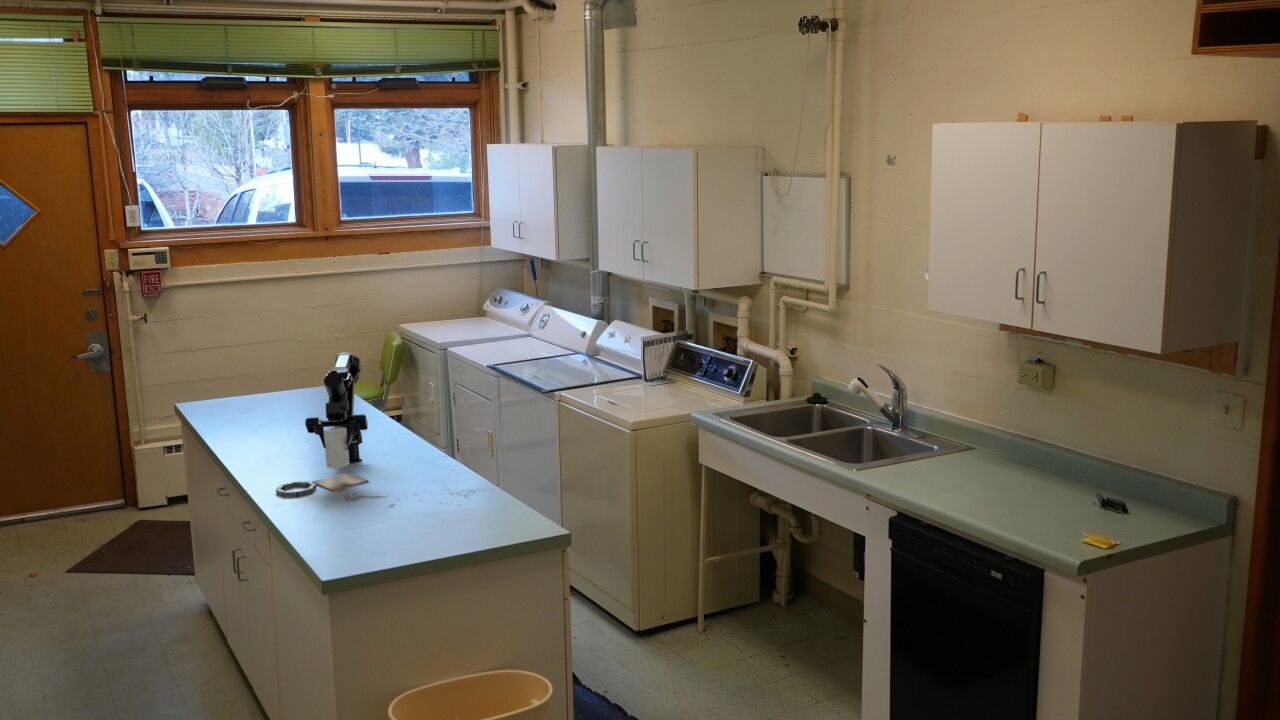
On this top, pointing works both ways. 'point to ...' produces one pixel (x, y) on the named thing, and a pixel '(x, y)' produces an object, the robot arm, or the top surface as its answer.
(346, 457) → the skincare box
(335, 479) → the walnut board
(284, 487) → the grey octagonal ring
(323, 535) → the top surface
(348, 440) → the robot arm
